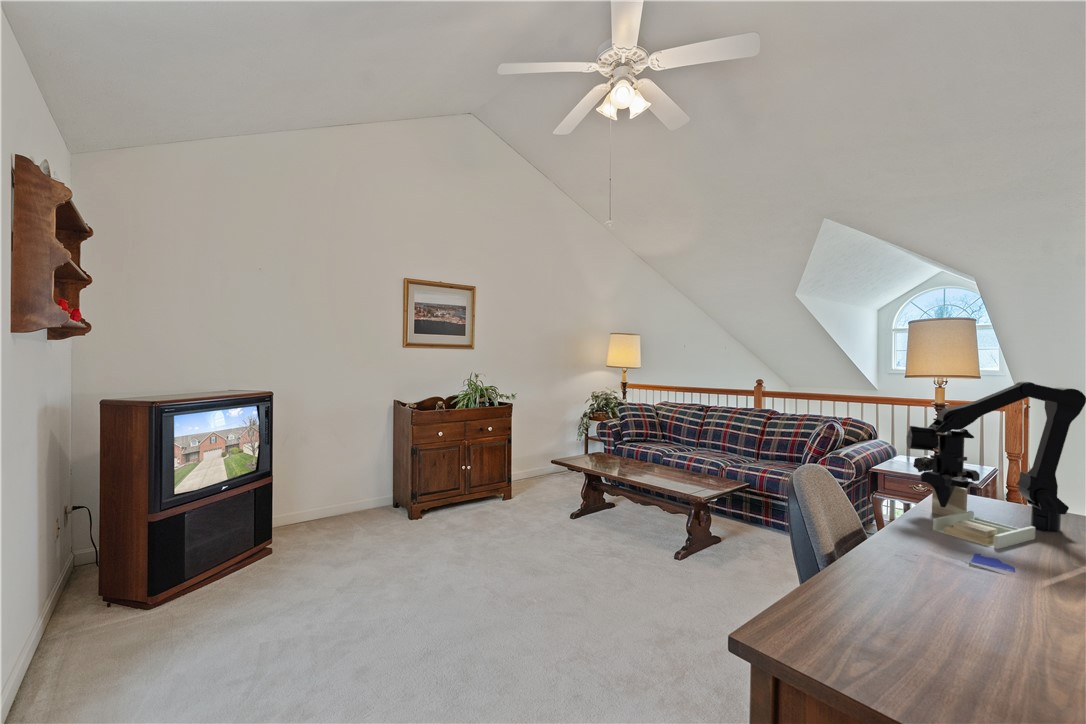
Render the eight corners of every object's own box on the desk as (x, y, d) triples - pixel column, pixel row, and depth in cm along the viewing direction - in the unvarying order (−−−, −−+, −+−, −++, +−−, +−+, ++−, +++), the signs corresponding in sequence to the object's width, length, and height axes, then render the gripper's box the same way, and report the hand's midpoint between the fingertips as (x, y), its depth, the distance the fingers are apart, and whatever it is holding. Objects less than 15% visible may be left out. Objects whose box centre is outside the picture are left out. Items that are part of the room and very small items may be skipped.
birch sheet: (934, 515, 151) (935, 482, 150) (966, 524, 143) (967, 488, 143) (931, 516, 150) (932, 482, 150) (963, 524, 143) (964, 489, 143)
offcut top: (964, 525, 134) (964, 520, 134) (996, 534, 127) (997, 528, 127) (953, 528, 132) (953, 522, 132) (986, 537, 125) (986, 531, 125)
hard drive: (1018, 573, 108) (1018, 557, 117) (968, 561, 114) (972, 547, 123) (1018, 580, 108) (1018, 564, 117) (968, 568, 114) (971, 553, 123)
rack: (969, 525, 142) (970, 510, 142) (1034, 542, 130) (1035, 527, 130) (932, 533, 135) (933, 518, 135) (997, 552, 122) (998, 536, 122)
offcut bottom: (957, 529, 135) (957, 524, 135) (999, 541, 127) (999, 535, 127) (944, 532, 133) (944, 526, 133) (986, 544, 124) (986, 538, 124)
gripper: (938, 445, 157) (936, 495, 158) (901, 449, 150) (899, 501, 150) (981, 452, 147) (979, 505, 148) (944, 456, 139) (942, 512, 140)
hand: (949, 505), depth 147 cm, fingers open, 6 cm apart
